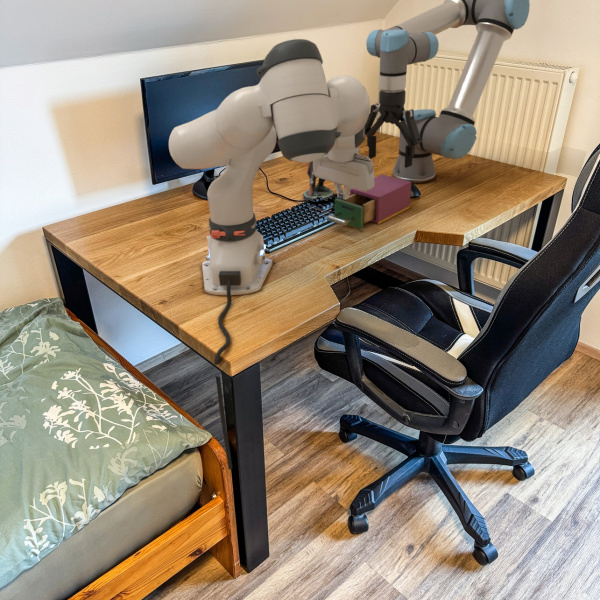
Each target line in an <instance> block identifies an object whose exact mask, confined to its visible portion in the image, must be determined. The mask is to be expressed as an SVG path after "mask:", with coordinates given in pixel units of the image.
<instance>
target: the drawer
mask: <svg viewBox="0 0 600 600" xmlns="http://www.w3.org/2000/svg"><path fill="white" fill-rule="evenodd" d="M374 218H376V199H372V198H369V197H366V196H362V195H359V194H356V193H355V194H353V195H350V194H349V198H348V199H346V200H345V199H341V198H335V199H334V214H333V215H332V214H329V215H328V216H327V221H328V222H332V223H335V224H336V225H337V224H338V225H341V226H343V227H347V225H349V226H352V227H354V228H356V229H363V228H364V224H366V223H369V222H371V221H370V220H372V219H374Z"/></svg>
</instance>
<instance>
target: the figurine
mask: <svg viewBox="0 0 600 600" xmlns="http://www.w3.org/2000/svg"><path fill="white" fill-rule="evenodd" d="M306 174H307V176H308V177H309V179H308V180H309V181H308V182H309V188H308V189H307V190H305V191H304V192H303V193H302V198H303V200H305V201H307V202H309V201H308V200H311V199H315V198H317V197H322V198H327V197H329V196H331V195H334V196H335V191H334V190H333V189H331V188H330V187H327V186H325V182H326V180H324V179H321V178H318V181H317V177H315V175H314V173H313V161H312V162H307V170H306ZM316 181H317V183H316Z"/></svg>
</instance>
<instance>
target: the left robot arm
mask: <svg viewBox="0 0 600 600" xmlns="http://www.w3.org/2000/svg"><path fill="white" fill-rule="evenodd" d="M323 63H324V61H323V57H322V55H321V52H320V50H319V47H318V45H317V44H316V43H314V42H313V41H311V40H309V39H304V38H293V39H292V38H291V39H287V40H284V41H282V42H279V43H277V44H275V45H274V46H273V47H272V48H271V49H270V50H269V51H268V53H267V54H266V56H265V57H264V60H263V63H262V66H259V67H258V68H257V70H256V74H257V76H258V77H260V81H259V83H258V84H256V85H252V86H245V87H241V88H239V89H237V90H234V91H232V92H231V93H230V94H228V95H227V96H226V97H225V98H224V99H223V100H222V101H221V103H220V104H219V106H218V107H217V108H216V109H213V110H212V111H209V112H208V113H205V114H203V115H201V116H200V117H197V118H195V119H193V120H191V121H188V122H186V123H182V124H180V125H177V126H175V127H174V128H173V129H172V131H171V133H170V135H169V138H168V150H169V154H170V156H171V158H172V160H173V161H174V163H175V164H176V165H178V167H180V168H181V169H184V170H206V169H212V168H218V167H219V168H220V167H224V166H226V167H225V169H224V171H222V173H221V175H219V176H218V177H217V178H215V179H214V180H213V181H211V183H210V185H209V187H208V189H207V191H206V195H207V203H208V212H209V218H208V229H209V234H208V235H207V236H206V243H207V249H208V255H206V256H205V260H204V261H203V262H202V263H201V268H202V278H203V290H204V292H205V293H207V294H210V295H214V296H226V297H227V298H226V299H227V301H226V305H225V307H224V308H223V310H222V312H221V313H220V314H219V316H218V318H217V319H218V320H217V322H218V326H219V329H220V330H221V332H222V333H223V335H224V337H225V343H224V344H223V345H222V346H221V347H219V349H218V350H217V351H216V353H215V357H214V363H213V365H214V366H217V365H219V363H220V357H221V355H222V354H223V352H224V351H226V350H227V349H228V348H229V346H230V344H231V336H230V333H229V331H228V330H227V328H226V326H225V325H224V322H223V320H224V317H225V316H226V314H227V313H228V311H229V310H230V307H231V305H232V296H239V295H240V296H241V295H249V294H253V293H256V292H259V291H260V290H261V288H262V287H263V286H264V283H265V280H266V278H267V276H268V274H269V273H270V271H271V268H272V266H273V265H274V264H273V260H272V259H271V258H268V257H266V244H265V242H264V235H263V234H262V233H260V232H259V231H258V230H257V218H256V214H255V212H254V200H253V191H254V190H253V188H254V182H255V179H256V176H257V174H258V171H259V169H260V167H261V166H262V165H263V163H264V162H265V160H266V159H267V158H268V157H269V156H270V155H272V153H273V152H274V150H275V148H276V144H277V145H278V147H279V150H280V153H281V155H282V157H283V158H285V159H286V160H288V161H290V162H295V163H303V164H304V163H305V164H306V163H307V164H308V162H312V161H313V173H314V175H315V177H317V178H318V179H319V178H321V179H324V180H325V181H328V182H331V183H333V186H334V189H335V192H336V197H337V199H341V200H343V199H345V200H346V199H348V198H349V196H350V190H351V189H352V188H355V189H358V190H362V191H368V190H370V189H372V188H373V187H374V185H375V180H374V178H375V172H374V171H375V170H374V162H373V161H372V159H369V156H366V155H362V154H360V146H361V145H362V144H363V143H364V142H365V141H366V135H365V132H364V127H365V124H366V122H367V119H368V116H369V114H370V109H371V104H370V103H371V101H370V96H369V93H368V91H367V88H366V87H365V86H364V84H363V83H362V82H361V81H360V80H359V79H358V78H356V77H354V76H351V75H348V74H341V75H337V76H334V77H332V78H330V79H329V80H328V81H327V79H326V75H325V71H324V68H323ZM277 138H278V140H277ZM317 178H316V179H317ZM221 380H222V379H221V375H220V376H219V375H217V376H215V382H216V391H217V400H218V406H219V407H218V408H219V417H220V423H221V429H222V435H223V441H224V449H225V454H226V461H227V462H226V463H227V468H228V470H230V471H231V470H233V463H232V456H231V448H230V442H229V436H228V430H227V429H228V428H227V423H226V415H225V409H224V407H225V406H224V399H223V390H222V381H221Z"/></svg>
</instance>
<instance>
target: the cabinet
mask: <svg viewBox="0 0 600 600" xmlns="http://www.w3.org/2000/svg"><path fill="white" fill-rule="evenodd" d="M374 180H375V185H374V187H373V188H372V189H370V190H368V191H362V190H358V189H355V188H352V189H351V190H350V192H349V196H350V195H353V194H355V193H356V194H359V195H362V196H366V197H369V198H372V199H376V218H374V219H372V220H370V221H369V222H371V223H373V224H376V225H380V224H381V223H384V222H385V221H388V220H389V219H391V218H393V217H395V216H397V215H399V214H401V213H403V212H404V211H406V210H408V209H410V207H411V196H412V195H411V192H412V183H411V182H410V181H406V180H402V179H398V178H395V177H393V176H392V175H391V176H390V175H387V174H383V173H382V174H379V175H377V176H374Z"/></svg>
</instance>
